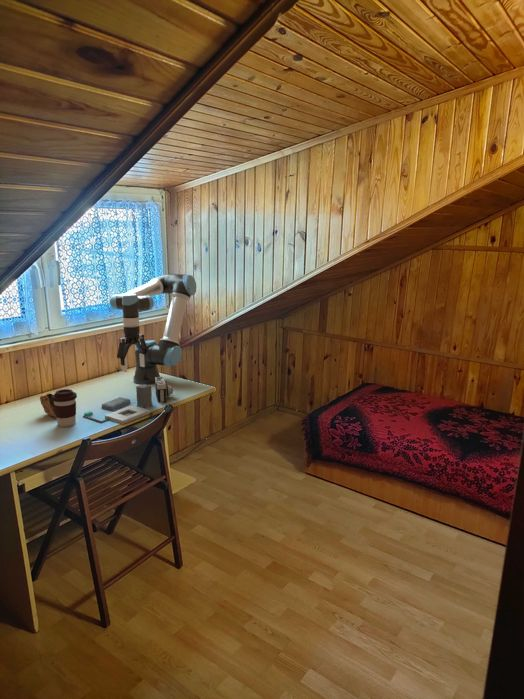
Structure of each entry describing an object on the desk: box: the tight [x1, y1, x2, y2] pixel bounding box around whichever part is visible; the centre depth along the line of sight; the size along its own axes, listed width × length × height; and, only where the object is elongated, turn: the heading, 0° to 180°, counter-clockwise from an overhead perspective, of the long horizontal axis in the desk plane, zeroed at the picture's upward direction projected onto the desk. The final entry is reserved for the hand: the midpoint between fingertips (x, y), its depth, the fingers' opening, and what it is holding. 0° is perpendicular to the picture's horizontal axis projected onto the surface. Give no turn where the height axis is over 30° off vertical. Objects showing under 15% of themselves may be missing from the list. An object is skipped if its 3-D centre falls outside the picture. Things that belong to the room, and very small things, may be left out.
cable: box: [82, 410, 111, 424], centre depth 210 cm, size 5×13×1 cm, turn 57°
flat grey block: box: [101, 396, 131, 412], centre depth 226 cm, size 12×7×3 cm, turn 153°
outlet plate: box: [104, 404, 151, 425], centre depth 214 cm, size 16×12×2 cm
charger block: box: [135, 384, 153, 409], centre depth 226 cm, size 5×5×10 cm
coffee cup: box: [52, 388, 78, 428], centre depth 201 cm, size 10×10×15 cm
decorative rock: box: [39, 393, 57, 419], centre depth 212 cm, size 12×6×11 cm, turn 63°
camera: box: [154, 376, 174, 404], centre depth 238 cm, size 14×8×10 cm, turn 17°
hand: (133, 368), depth 233 cm, fingers open, 11 cm apart
